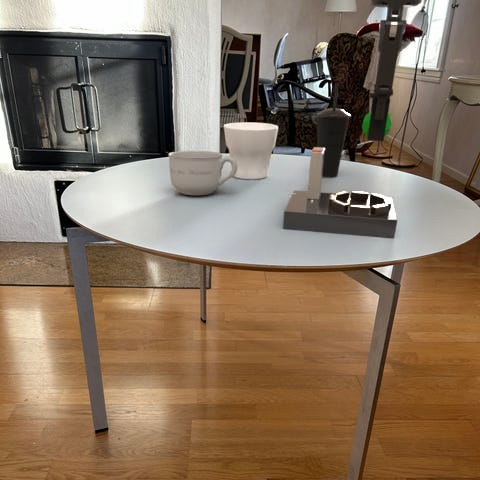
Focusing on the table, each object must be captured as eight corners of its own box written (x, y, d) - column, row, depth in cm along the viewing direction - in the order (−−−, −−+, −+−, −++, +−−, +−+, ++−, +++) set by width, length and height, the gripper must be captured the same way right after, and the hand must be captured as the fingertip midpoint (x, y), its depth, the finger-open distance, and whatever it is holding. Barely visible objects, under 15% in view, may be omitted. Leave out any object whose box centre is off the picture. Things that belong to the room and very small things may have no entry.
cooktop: (388, 211, 90) (391, 194, 89) (394, 238, 77) (397, 219, 76) (290, 203, 94) (291, 187, 92) (279, 228, 80) (280, 209, 79)
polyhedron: (363, 141, 82) (367, 110, 80) (357, 136, 86) (361, 107, 84) (392, 142, 82) (397, 111, 80) (385, 137, 86) (390, 108, 84)
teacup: (160, 195, 97) (157, 153, 93) (187, 183, 106) (186, 145, 102) (221, 204, 92) (221, 161, 88) (244, 192, 101) (245, 152, 97)
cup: (212, 176, 113) (212, 125, 107) (242, 167, 122) (243, 120, 116) (258, 184, 107) (259, 131, 101) (285, 174, 116) (288, 125, 110)
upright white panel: (309, 191, 90) (313, 145, 86) (320, 192, 89) (325, 146, 85) (307, 198, 86) (311, 150, 82) (318, 199, 85) (323, 151, 81)
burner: (387, 202, 84) (389, 193, 84) (391, 219, 76) (392, 209, 75) (330, 198, 86) (331, 189, 85) (327, 214, 78) (328, 204, 77)
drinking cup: (339, 171, 120) (349, 82, 110) (346, 178, 113) (358, 84, 103) (308, 171, 119) (316, 81, 110) (314, 178, 113) (323, 83, 103)
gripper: (374, -17, 81) (354, 129, 93) (375, -34, 66) (351, 144, 77) (420, -17, 80) (395, 132, 91) (432, -35, 64) (400, 147, 76)
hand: (375, 137), depth 84 cm, fingers closed on polyhedron, 5 cm apart
